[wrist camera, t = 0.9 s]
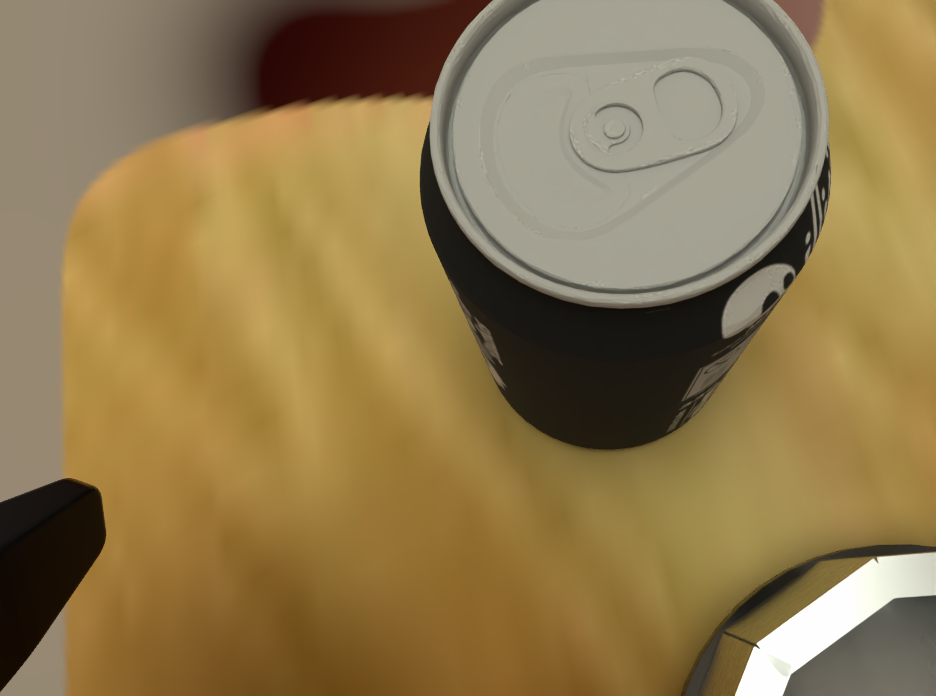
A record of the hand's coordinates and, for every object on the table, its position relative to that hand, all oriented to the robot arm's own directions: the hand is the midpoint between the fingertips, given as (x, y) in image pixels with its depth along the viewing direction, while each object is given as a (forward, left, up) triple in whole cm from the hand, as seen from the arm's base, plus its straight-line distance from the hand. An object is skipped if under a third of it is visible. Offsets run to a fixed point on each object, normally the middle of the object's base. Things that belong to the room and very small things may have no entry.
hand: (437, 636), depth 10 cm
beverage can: (+7, -3, -13) cm, 15 cm away
